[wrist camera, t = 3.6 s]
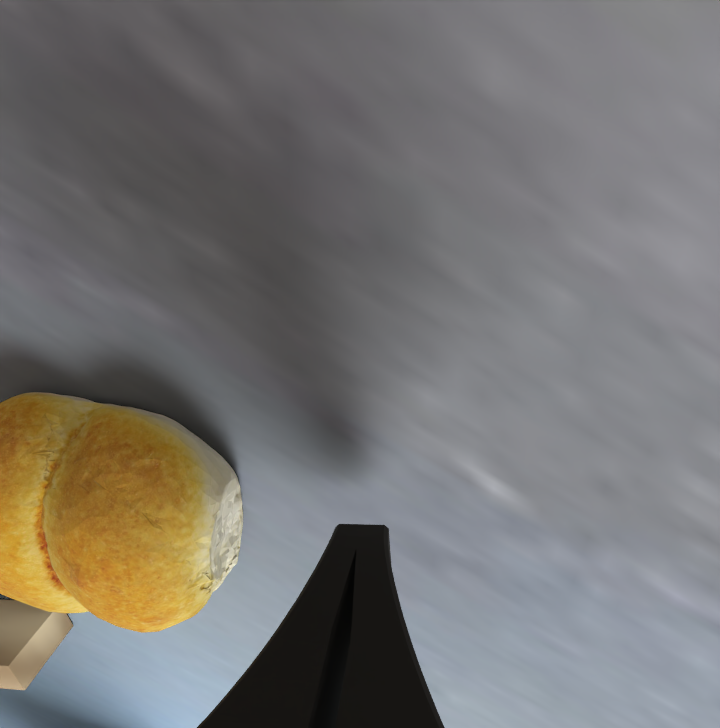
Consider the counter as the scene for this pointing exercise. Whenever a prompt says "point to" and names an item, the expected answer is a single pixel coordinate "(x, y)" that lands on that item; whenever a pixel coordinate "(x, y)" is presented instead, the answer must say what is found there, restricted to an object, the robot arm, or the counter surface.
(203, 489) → the bread roll
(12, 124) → the counter surface
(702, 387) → the counter surface
